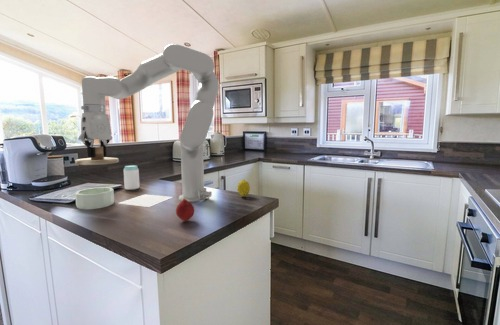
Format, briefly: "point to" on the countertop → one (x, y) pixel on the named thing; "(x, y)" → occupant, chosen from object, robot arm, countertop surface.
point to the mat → (145, 200)
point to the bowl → (94, 198)
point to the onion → (185, 210)
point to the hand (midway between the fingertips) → (97, 156)
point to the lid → (97, 159)
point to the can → (131, 177)
